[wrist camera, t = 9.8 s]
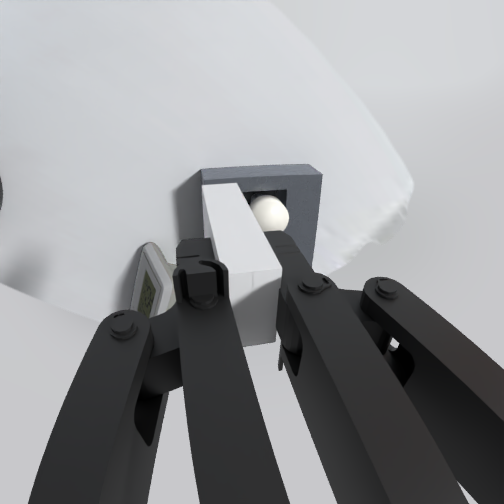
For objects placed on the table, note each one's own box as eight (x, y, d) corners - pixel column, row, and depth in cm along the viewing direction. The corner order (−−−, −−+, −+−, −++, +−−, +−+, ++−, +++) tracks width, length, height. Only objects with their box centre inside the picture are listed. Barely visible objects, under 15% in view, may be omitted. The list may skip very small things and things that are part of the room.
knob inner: (240, 216, 47) (250, 239, 41) (240, 184, 45) (251, 203, 39) (272, 213, 48) (287, 235, 42) (274, 182, 46) (290, 200, 40)
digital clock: (148, 233, 46) (143, 274, 37) (200, 255, 50) (206, 298, 41) (114, 307, 52) (107, 352, 43) (160, 323, 56) (160, 368, 47)
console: (209, 294, 54) (212, 313, 50) (200, 169, 43) (203, 180, 39) (297, 282, 57) (306, 300, 53) (308, 164, 46) (322, 174, 42)
